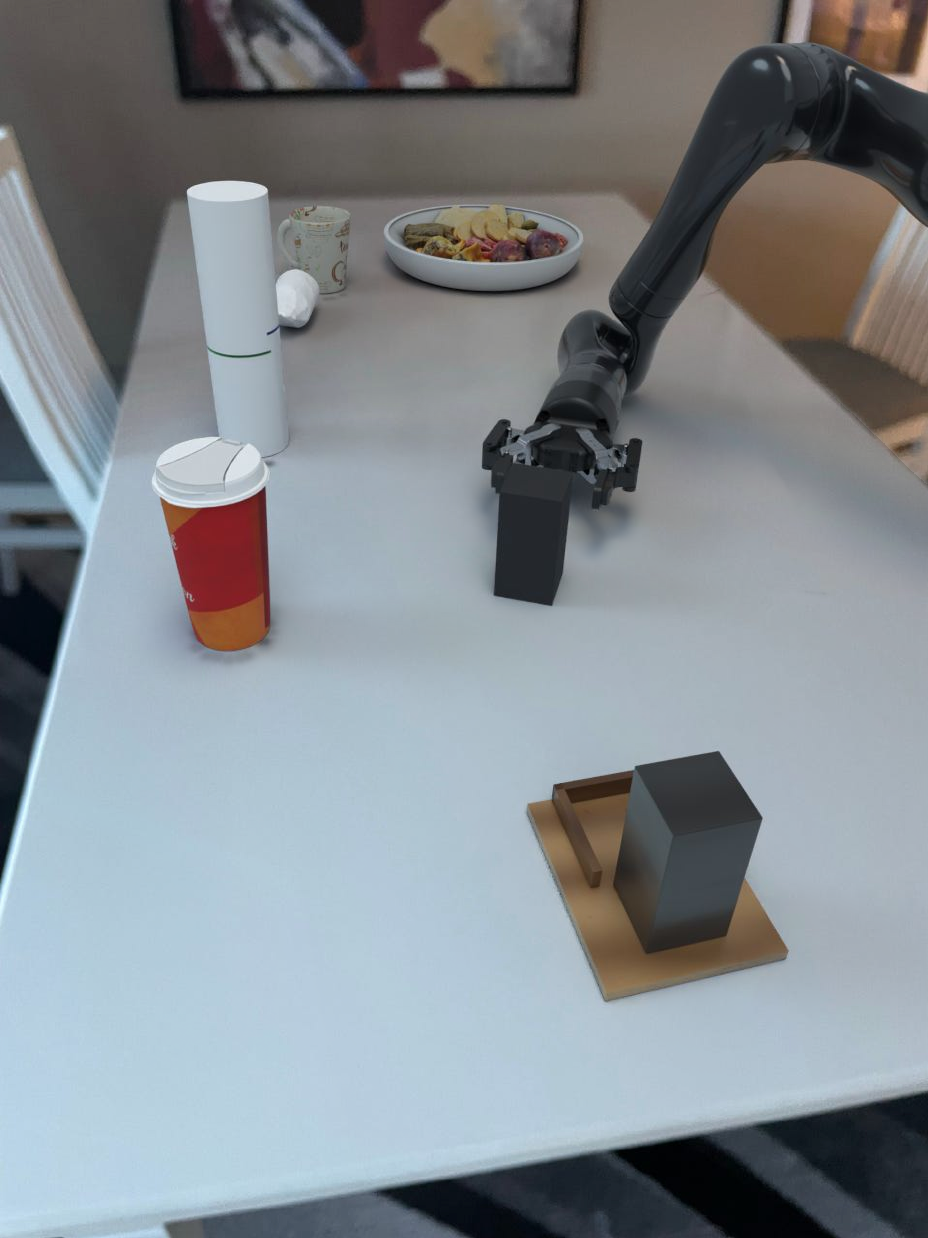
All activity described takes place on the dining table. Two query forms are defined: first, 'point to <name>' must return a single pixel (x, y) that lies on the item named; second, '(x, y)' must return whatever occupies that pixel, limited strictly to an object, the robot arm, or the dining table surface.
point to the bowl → (483, 246)
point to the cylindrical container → (240, 311)
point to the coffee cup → (219, 537)
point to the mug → (319, 244)
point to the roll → (296, 297)
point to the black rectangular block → (532, 533)
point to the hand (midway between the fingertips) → (547, 492)
